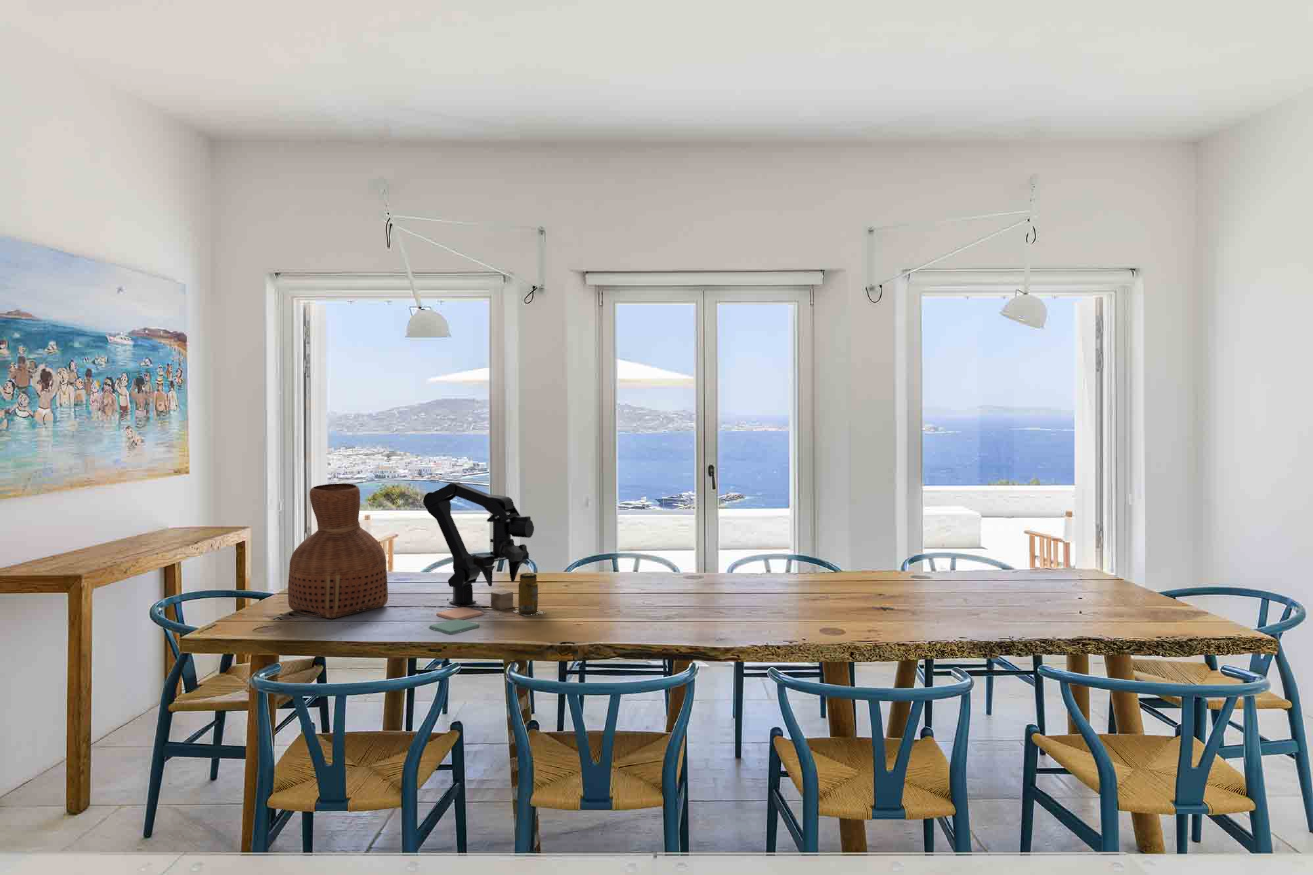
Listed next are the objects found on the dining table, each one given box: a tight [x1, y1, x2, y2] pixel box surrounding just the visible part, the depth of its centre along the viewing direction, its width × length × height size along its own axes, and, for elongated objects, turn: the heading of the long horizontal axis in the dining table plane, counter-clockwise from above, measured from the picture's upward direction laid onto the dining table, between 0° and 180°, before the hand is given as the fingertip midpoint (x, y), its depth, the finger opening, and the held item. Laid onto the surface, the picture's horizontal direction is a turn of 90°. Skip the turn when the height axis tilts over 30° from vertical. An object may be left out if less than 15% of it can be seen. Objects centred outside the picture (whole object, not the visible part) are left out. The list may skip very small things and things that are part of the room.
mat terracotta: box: [435, 606, 484, 621], centre depth 237 cm, size 10×10×1 cm
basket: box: [287, 482, 389, 619], centre depth 244 cm, size 28×28×40 cm
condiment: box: [512, 572, 546, 617], centre depth 240 cm, size 7×8×12 cm
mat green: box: [429, 619, 480, 635], centre depth 222 cm, size 10×10×1 cm
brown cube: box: [490, 589, 514, 611], centre depth 247 cm, size 5×5×5 cm
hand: (501, 583), depth 247 cm, fingers open, 9 cm apart
